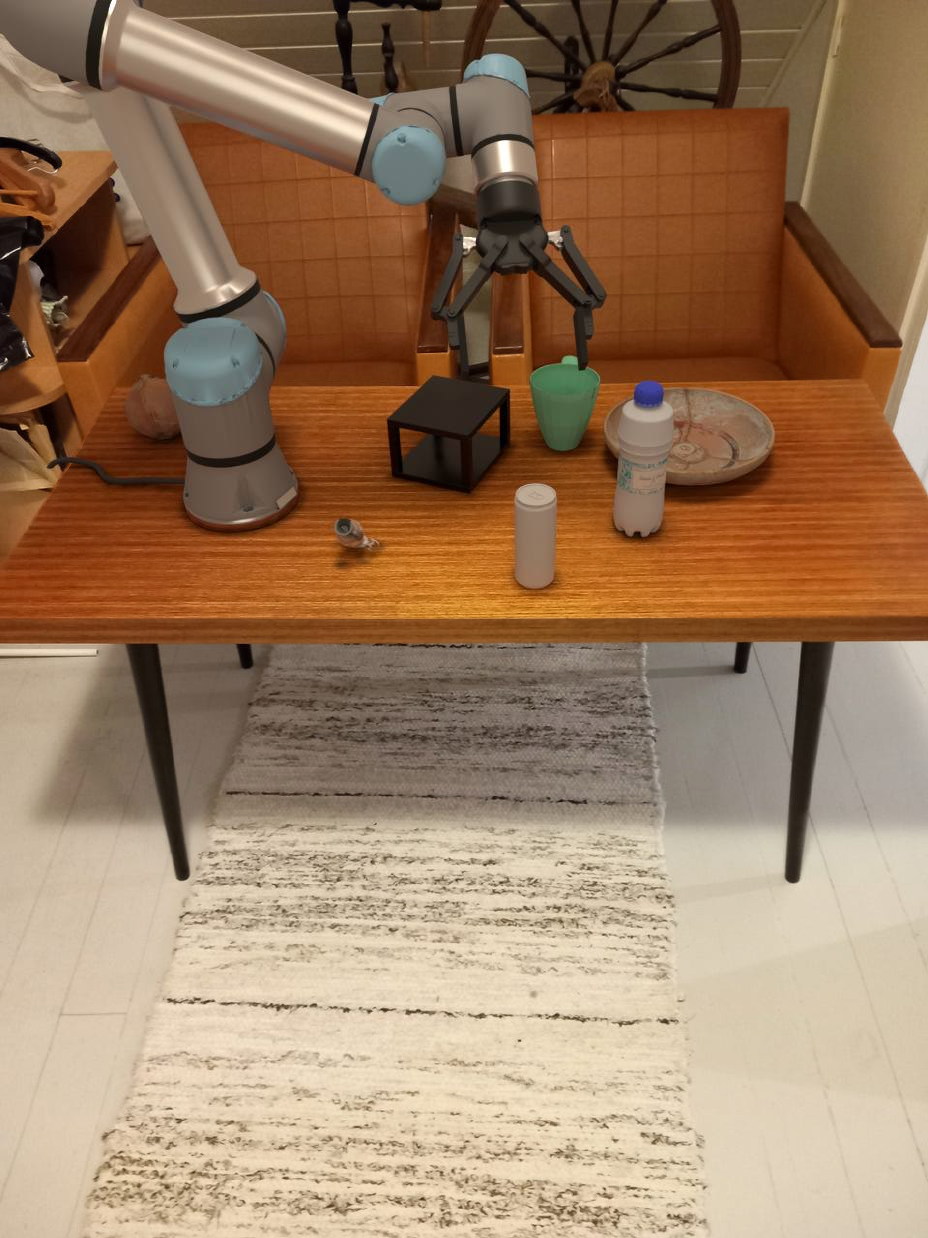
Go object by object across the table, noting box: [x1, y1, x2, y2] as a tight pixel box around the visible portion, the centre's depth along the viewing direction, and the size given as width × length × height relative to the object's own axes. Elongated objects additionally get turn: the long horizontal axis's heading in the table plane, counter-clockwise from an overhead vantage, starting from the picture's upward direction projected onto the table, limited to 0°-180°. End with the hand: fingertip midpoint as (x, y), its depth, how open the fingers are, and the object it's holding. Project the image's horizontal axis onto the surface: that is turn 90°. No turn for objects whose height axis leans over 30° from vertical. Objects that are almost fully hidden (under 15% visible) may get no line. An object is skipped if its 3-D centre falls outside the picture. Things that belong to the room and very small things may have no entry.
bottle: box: [612, 380, 674, 538], centre depth 120 cm, size 7×7×20 cm
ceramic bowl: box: [602, 386, 776, 487], centre depth 137 cm, size 23×24×5 cm
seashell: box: [333, 517, 380, 551], centre depth 122 cm, size 5×5×6 cm
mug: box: [529, 355, 601, 452], centre depth 142 cm, size 15×10×10 cm
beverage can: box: [513, 482, 558, 590], centre depth 115 cm, size 5×5×12 cm
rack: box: [386, 374, 511, 495], centre depth 137 cm, size 12×14×9 cm
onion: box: [124, 373, 181, 441], centre depth 146 cm, size 10×9×10 cm
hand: (524, 371), depth 113 cm, fingers open, 13 cm apart
